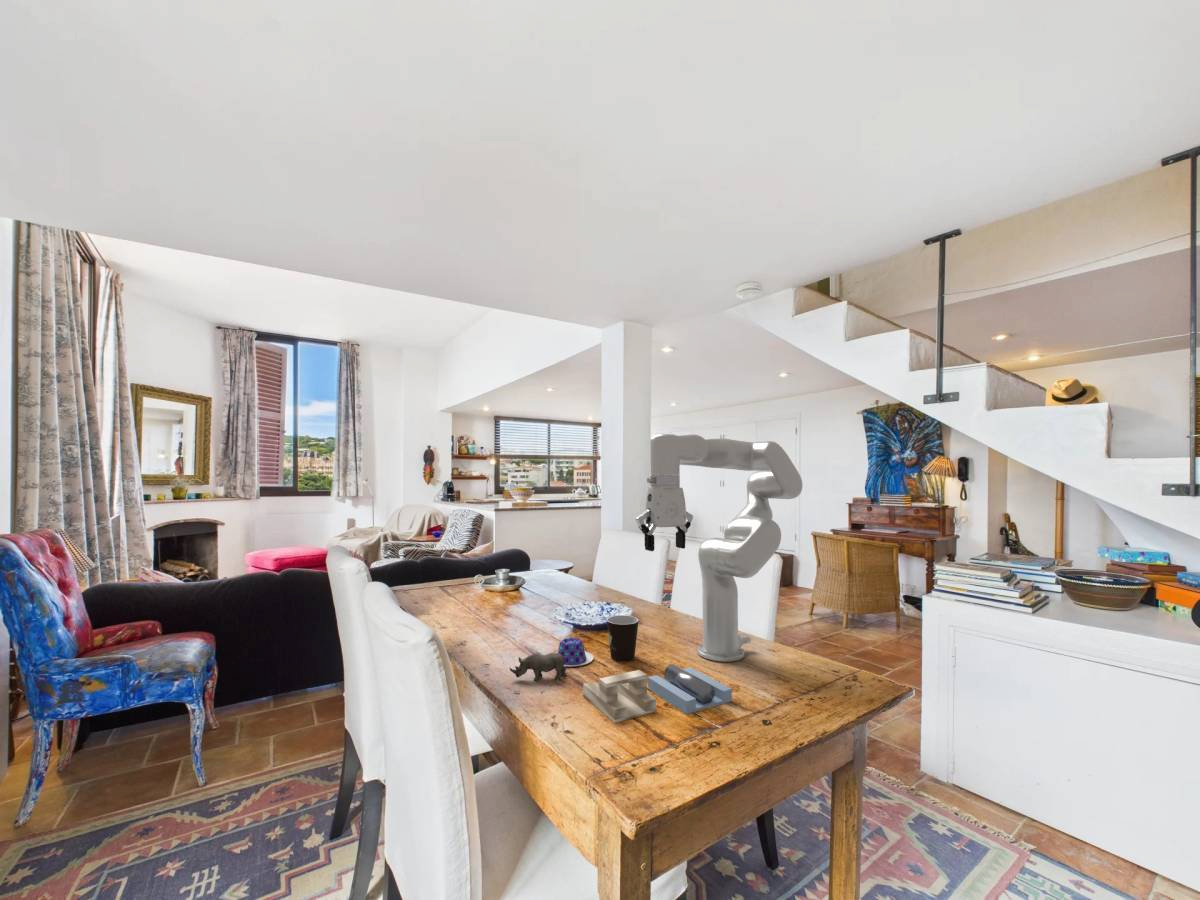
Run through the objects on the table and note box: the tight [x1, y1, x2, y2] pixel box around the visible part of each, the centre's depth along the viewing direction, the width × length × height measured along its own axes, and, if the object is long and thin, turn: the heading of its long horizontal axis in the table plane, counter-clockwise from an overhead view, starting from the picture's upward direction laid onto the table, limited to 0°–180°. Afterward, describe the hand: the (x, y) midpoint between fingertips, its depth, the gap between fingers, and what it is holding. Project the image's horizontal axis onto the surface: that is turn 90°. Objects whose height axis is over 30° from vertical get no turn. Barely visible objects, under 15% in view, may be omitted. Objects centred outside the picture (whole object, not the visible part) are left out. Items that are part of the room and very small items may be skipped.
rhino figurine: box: [509, 652, 567, 683], centre depth 121 cm, size 4×14×6 cm, turn 99°
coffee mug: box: [606, 614, 639, 663], centre depth 137 cm, size 12×9×10 cm
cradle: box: [647, 666, 733, 715], centre depth 112 cm, size 12×14×3 cm
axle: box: [663, 663, 715, 704], centre depth 112 cm, size 13×4×4 cm, turn 29°
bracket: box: [582, 669, 657, 723], centre depth 108 cm, size 10×14×6 cm
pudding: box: [555, 637, 594, 667], centre depth 133 cm, size 12×12×5 cm
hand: (665, 549), depth 127 cm, fingers open, 9 cm apart
